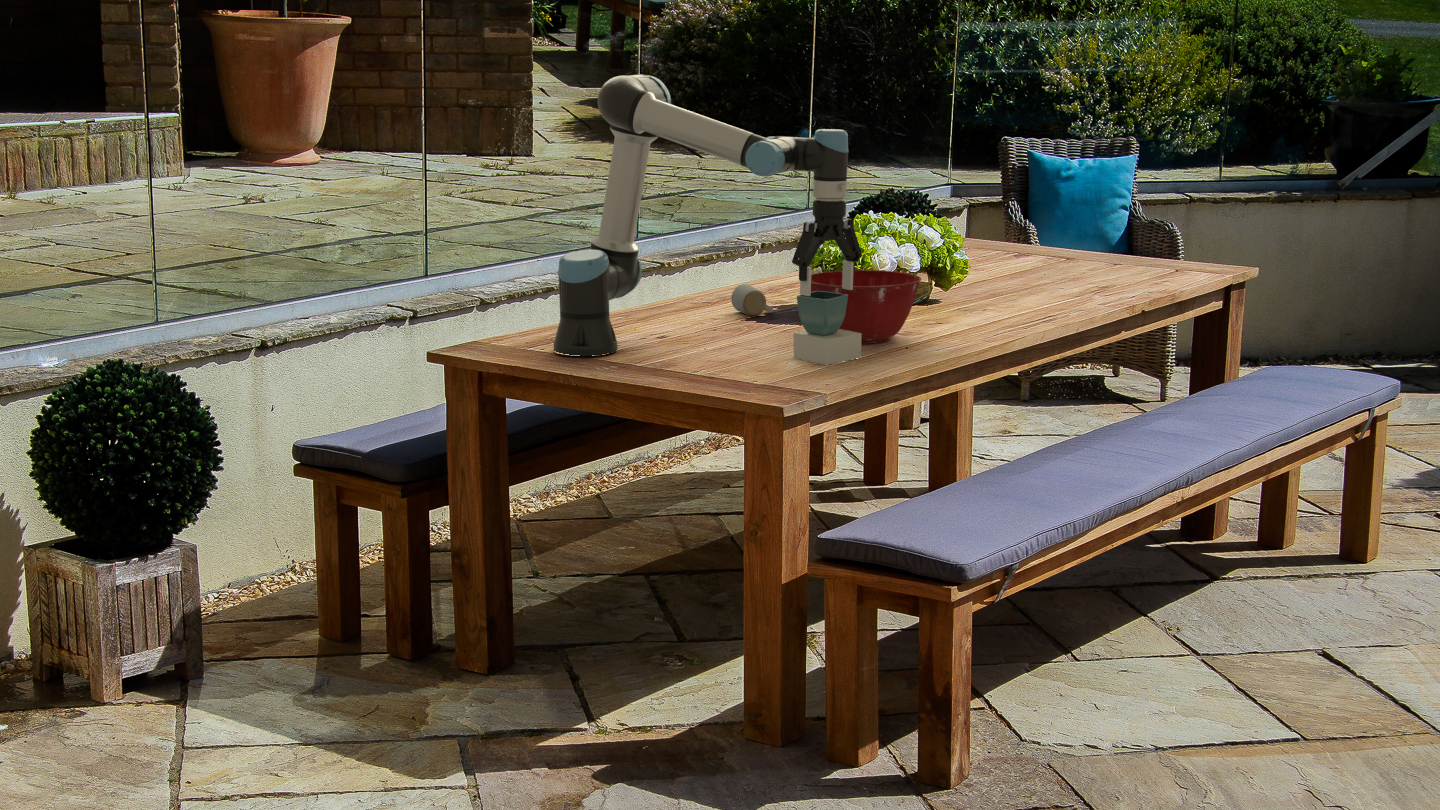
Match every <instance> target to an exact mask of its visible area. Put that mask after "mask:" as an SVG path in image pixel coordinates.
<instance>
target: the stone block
mask: <svg viewBox="0 0 1440 810" xmlns="http://www.w3.org/2000/svg"><path fill="white" fill-rule="evenodd" d="M861 334H862V333H858V332H853V331H848V330H842V329H838V331H837V332H835V333H832V334H828V335H825V336H823V335H818V334H810V333H807V331H806V330H801V331H796V332H793V359H796V358H797V359H796V360H800V359H801V360H802V361H805V362H809V361H810V363H814V362H815V364H818V363H820V364H819V365H823V364H825V365H824V366H830V365H829V364H832V365H835V364H834V363H837V364H839V363H838V362H842V361H847V360H852V359H856V358H860V357H861V358H862V343H861ZM852 361H853V360H852ZM847 362H848V361H847ZM842 363H843V362H842Z"/></svg>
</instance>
